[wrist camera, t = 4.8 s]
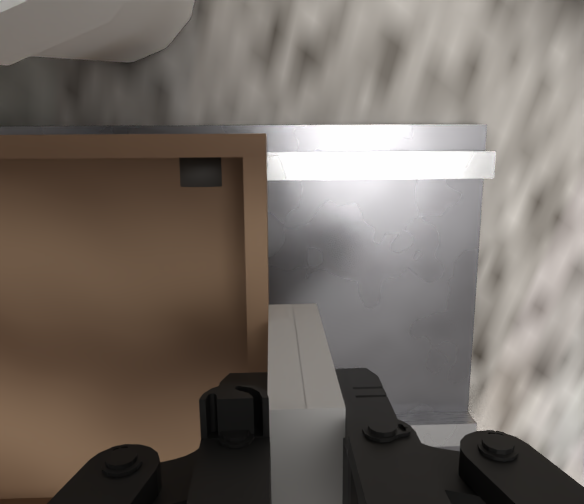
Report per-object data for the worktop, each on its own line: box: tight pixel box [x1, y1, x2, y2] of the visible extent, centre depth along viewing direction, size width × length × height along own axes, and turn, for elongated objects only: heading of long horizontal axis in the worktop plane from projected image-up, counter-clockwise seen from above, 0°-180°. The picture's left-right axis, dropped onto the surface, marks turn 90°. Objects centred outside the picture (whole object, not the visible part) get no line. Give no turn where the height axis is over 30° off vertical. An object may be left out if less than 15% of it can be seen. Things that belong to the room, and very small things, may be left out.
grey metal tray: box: [0, 124, 496, 451], centre depth 21 cm, size 14×23×2 cm, turn 90°
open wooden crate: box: [0, 133, 269, 504], centre depth 17 cm, size 13×13×5 cm
